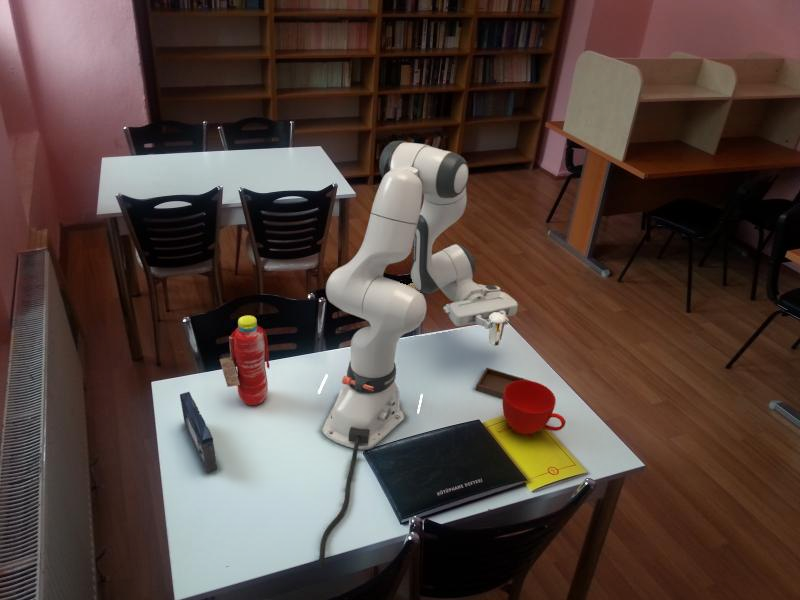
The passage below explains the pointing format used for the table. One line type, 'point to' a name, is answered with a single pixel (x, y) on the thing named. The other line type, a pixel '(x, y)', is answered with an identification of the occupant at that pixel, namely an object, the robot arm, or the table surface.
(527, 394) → the ceramic cup
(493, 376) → the tray
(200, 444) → the vhs cassette tape
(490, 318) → the milkshake
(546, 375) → the table surface
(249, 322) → the water bottle
